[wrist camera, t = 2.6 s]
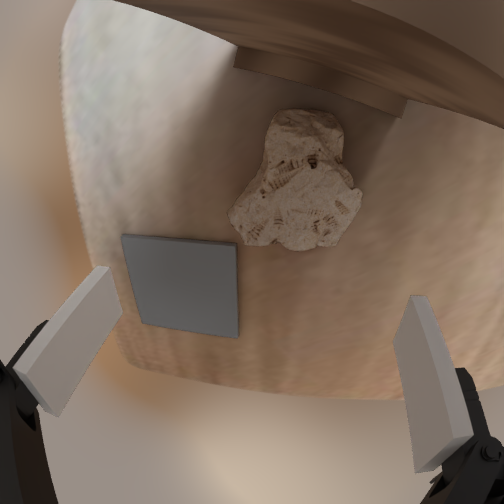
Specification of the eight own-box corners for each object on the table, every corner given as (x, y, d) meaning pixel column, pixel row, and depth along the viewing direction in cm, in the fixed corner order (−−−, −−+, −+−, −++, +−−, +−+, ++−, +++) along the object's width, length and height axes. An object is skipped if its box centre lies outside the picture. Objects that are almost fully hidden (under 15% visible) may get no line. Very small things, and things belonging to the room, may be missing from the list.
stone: (229, 208, 28) (215, 235, 24) (288, 90, 22) (285, 92, 18) (317, 252, 29) (319, 285, 24) (387, 146, 23) (405, 162, 18)
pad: (123, 234, 31) (120, 236, 30) (236, 243, 29) (235, 246, 29) (144, 320, 37) (142, 323, 37) (239, 334, 35) (238, 338, 35)
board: (236, 67, 21) (34, 62, 4) (251, 10, 18) (97, -127, 2) (397, 117, 21) (586, 243, 4) (414, 61, 18) (632, 77, 1)
